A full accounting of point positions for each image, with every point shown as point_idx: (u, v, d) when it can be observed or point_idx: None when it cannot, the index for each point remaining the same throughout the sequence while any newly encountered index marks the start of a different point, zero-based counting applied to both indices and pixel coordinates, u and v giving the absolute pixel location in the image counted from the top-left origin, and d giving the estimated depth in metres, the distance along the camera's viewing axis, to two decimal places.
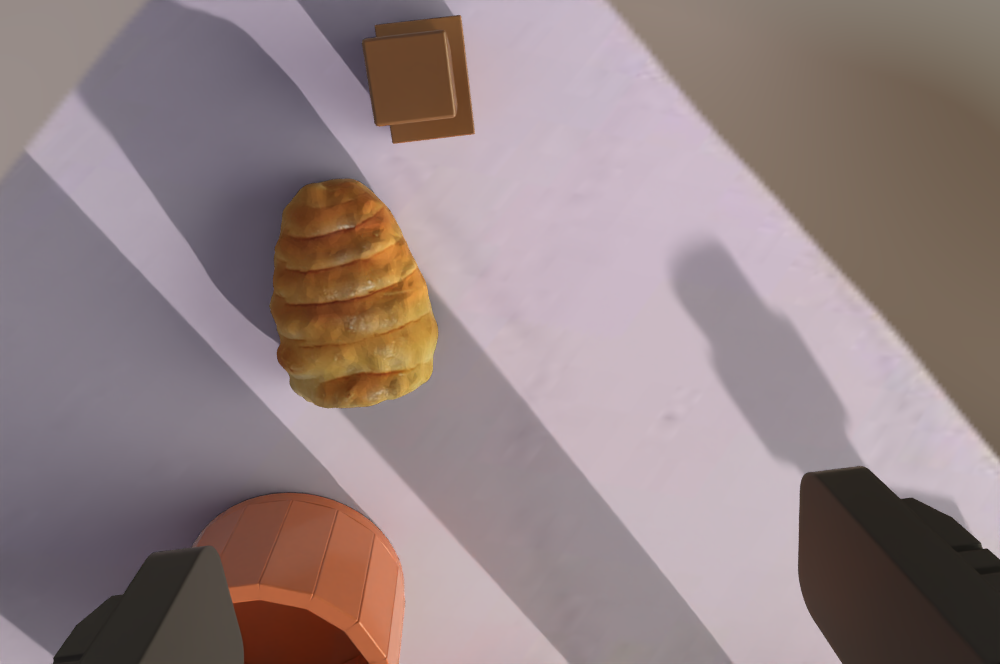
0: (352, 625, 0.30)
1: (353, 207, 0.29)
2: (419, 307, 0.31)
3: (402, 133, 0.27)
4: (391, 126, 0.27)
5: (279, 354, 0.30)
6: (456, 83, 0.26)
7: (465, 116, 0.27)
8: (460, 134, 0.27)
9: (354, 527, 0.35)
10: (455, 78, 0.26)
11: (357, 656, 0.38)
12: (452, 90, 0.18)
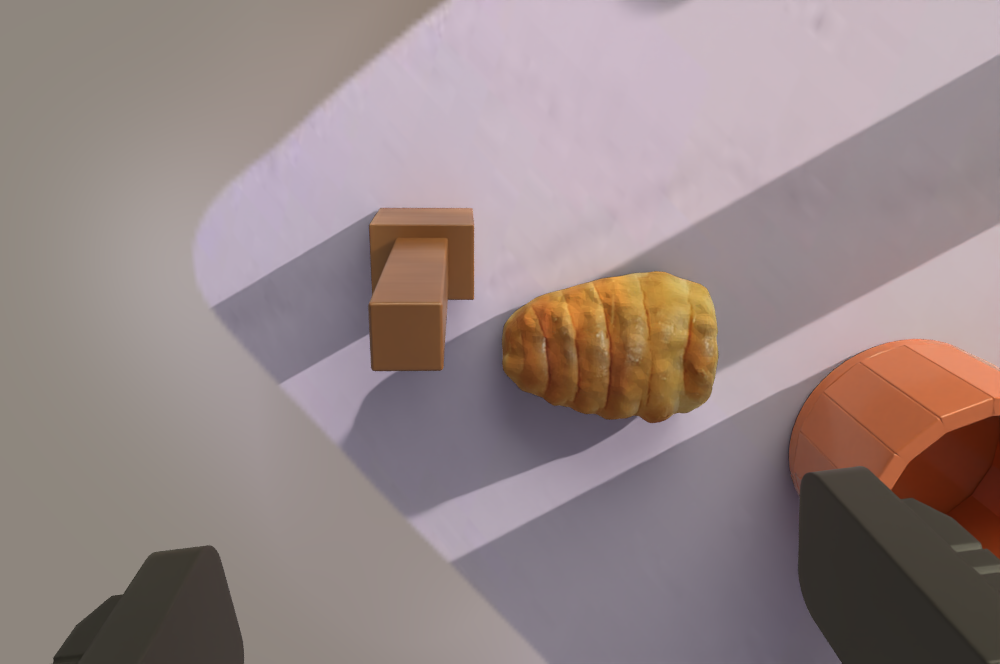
0: (942, 424, 0.29)
1: (527, 335, 0.32)
2: (631, 289, 0.31)
3: (465, 290, 0.29)
4: (458, 298, 0.29)
5: (650, 421, 0.33)
6: (427, 235, 0.29)
7: (456, 231, 0.28)
8: (472, 238, 0.29)
9: (845, 381, 0.34)
10: (422, 236, 0.28)
11: None
12: (419, 303, 0.20)
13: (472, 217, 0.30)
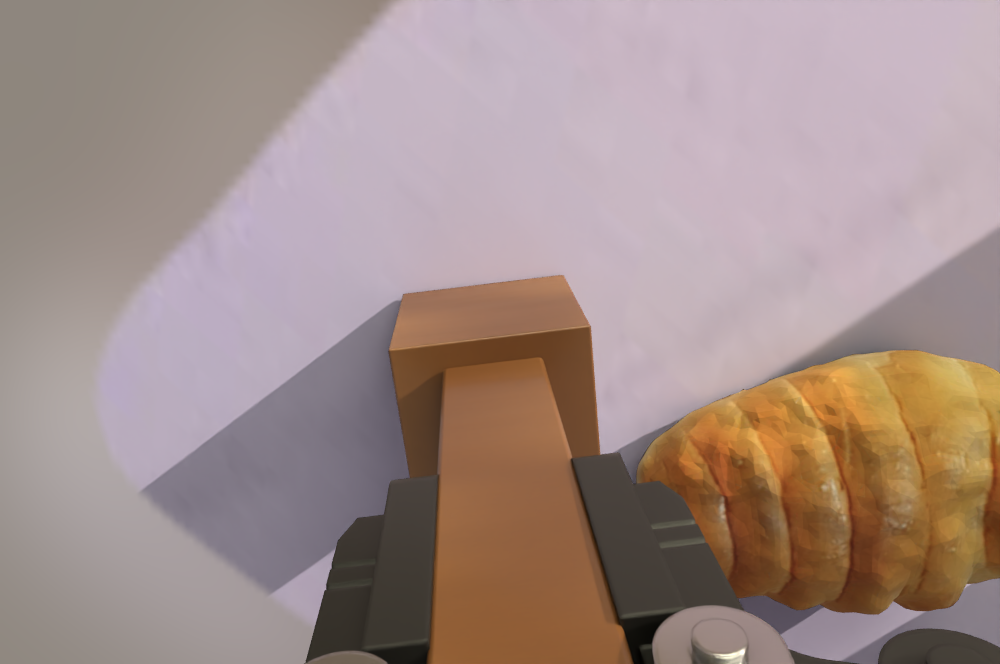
0: None
1: (689, 493, 0.18)
2: (871, 394, 0.17)
3: (583, 445, 0.15)
4: None
5: (915, 610, 0.19)
6: (502, 357, 0.15)
7: (558, 342, 0.15)
8: (590, 350, 0.15)
9: None
10: (493, 359, 0.15)
11: None
12: None
13: (576, 301, 0.16)
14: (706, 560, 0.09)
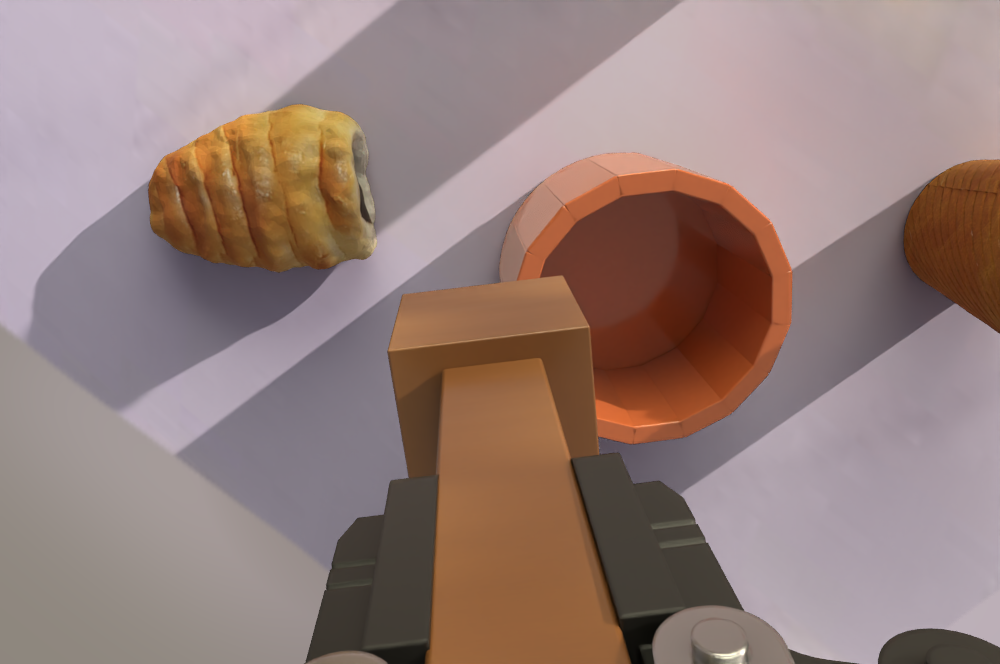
0: (569, 212, 0.27)
1: (161, 186, 0.30)
2: (258, 123, 0.30)
3: (582, 446, 0.15)
4: None
5: (314, 266, 0.31)
6: (501, 357, 0.15)
7: (557, 343, 0.15)
8: (589, 350, 0.15)
9: (528, 204, 0.32)
10: (492, 359, 0.15)
11: (701, 210, 0.33)
12: None
13: (575, 302, 0.16)
14: (706, 560, 0.09)
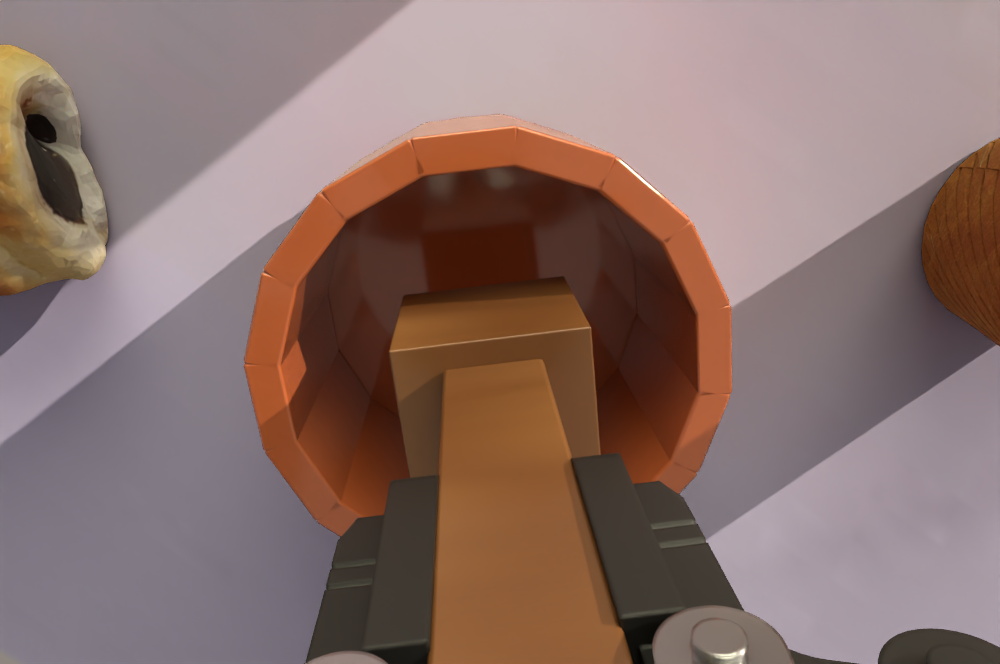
0: (330, 203, 0.15)
1: None
2: None
3: (583, 447, 0.15)
4: None
5: None
6: (502, 358, 0.15)
7: (559, 343, 0.15)
8: (590, 351, 0.15)
9: None
10: (494, 360, 0.15)
11: (609, 204, 0.22)
12: None
13: (577, 303, 0.16)
14: (706, 560, 0.09)
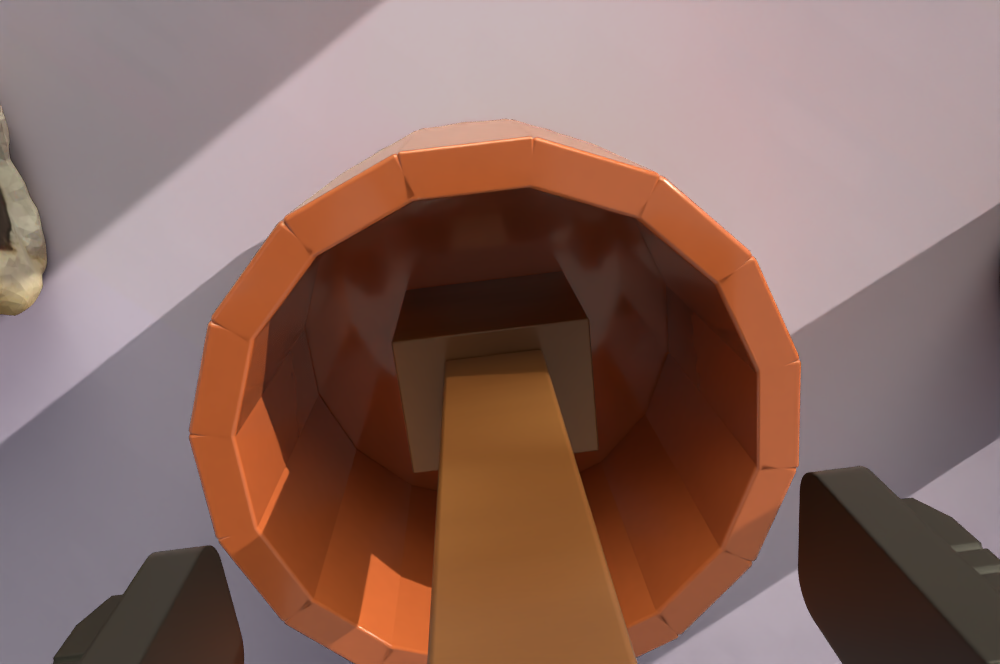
0: (294, 235, 0.12)
1: None
2: None
3: (582, 436, 0.16)
4: None
5: None
6: (502, 349, 0.15)
7: (557, 334, 0.15)
8: (588, 342, 0.15)
9: None
10: (494, 351, 0.15)
11: (637, 225, 0.18)
12: None
13: (575, 296, 0.16)
14: None
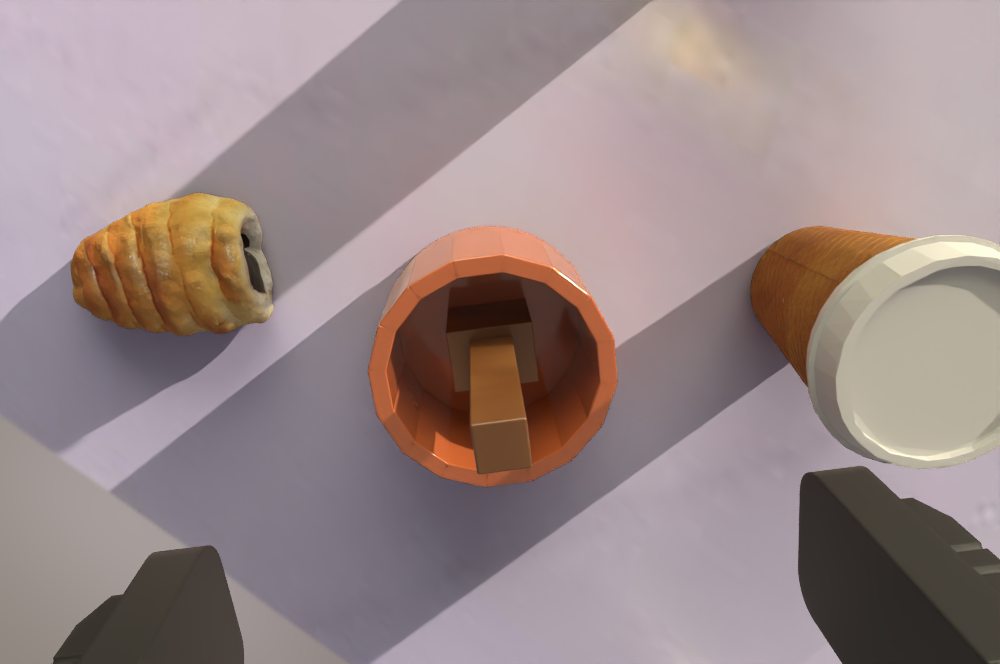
0: (412, 291, 0.31)
1: (80, 266, 0.35)
2: (160, 211, 0.34)
3: (531, 374, 0.35)
4: (526, 382, 0.35)
5: (214, 332, 0.36)
6: (494, 335, 0.34)
7: (518, 329, 0.34)
8: (532, 332, 0.34)
9: (402, 274, 0.37)
10: (490, 336, 0.34)
11: None
12: (508, 420, 0.26)
13: (528, 311, 0.36)
14: None
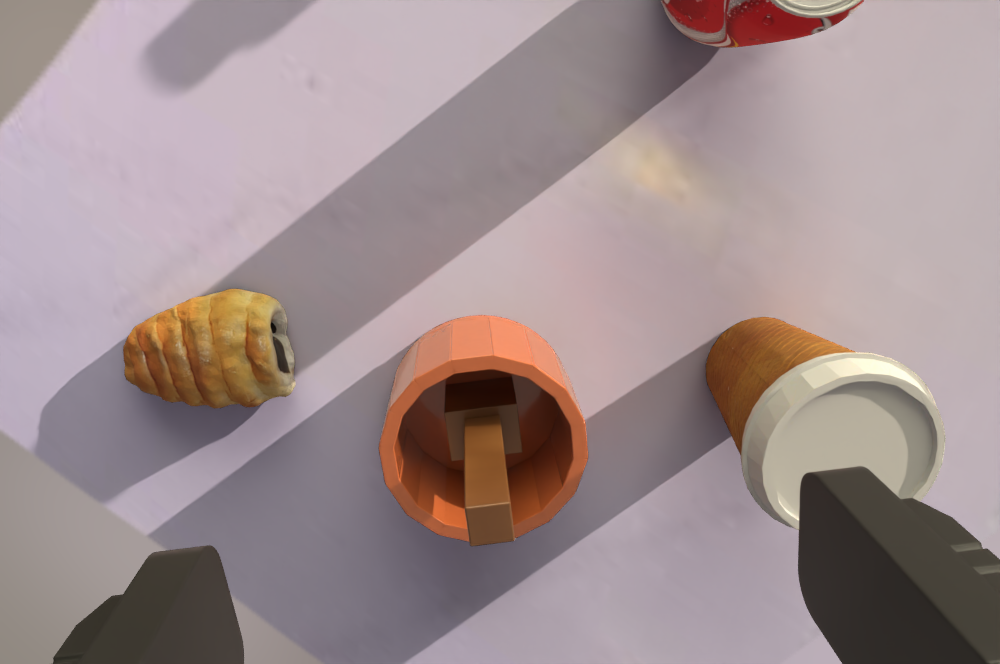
0: (417, 384, 0.37)
1: (132, 350, 0.41)
2: (202, 306, 0.40)
3: (515, 447, 0.41)
4: (511, 453, 0.41)
5: (245, 406, 0.42)
6: (485, 415, 0.40)
7: (505, 409, 0.40)
8: (517, 412, 0.41)
9: (407, 357, 0.43)
10: (482, 415, 0.40)
11: None
12: (496, 504, 0.32)
13: (514, 392, 0.42)
14: None
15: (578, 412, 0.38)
